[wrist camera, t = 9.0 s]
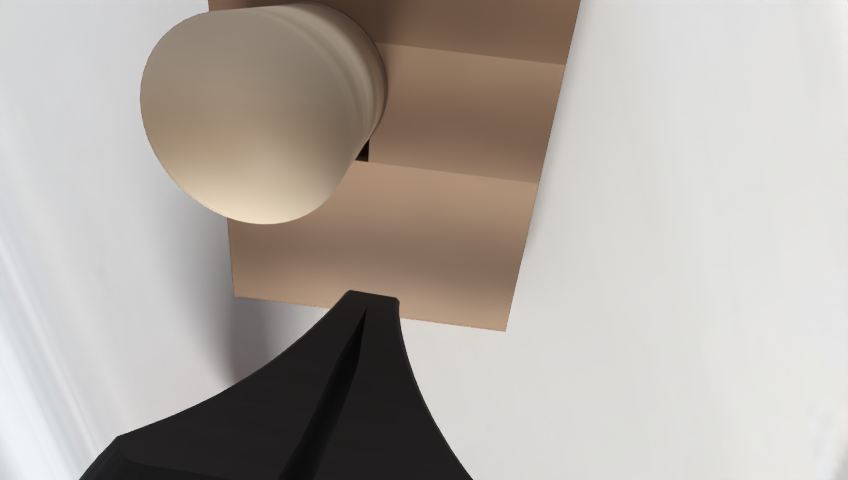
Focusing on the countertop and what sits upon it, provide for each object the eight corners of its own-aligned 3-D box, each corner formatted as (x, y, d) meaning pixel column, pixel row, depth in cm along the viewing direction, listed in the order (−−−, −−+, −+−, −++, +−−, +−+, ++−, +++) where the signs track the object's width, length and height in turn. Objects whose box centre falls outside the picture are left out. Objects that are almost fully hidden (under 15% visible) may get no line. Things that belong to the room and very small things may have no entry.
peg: (263, -10, 18) (122, -9, 11) (403, 10, 18) (361, 26, 11) (266, 129, 21) (152, 210, 13) (390, 148, 21) (347, 239, 13)
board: (240, -70, 18) (201, -80, 15) (569, -31, 18) (588, -35, 15) (259, 262, 24) (234, 295, 22) (500, 293, 24) (505, 331, 21)
